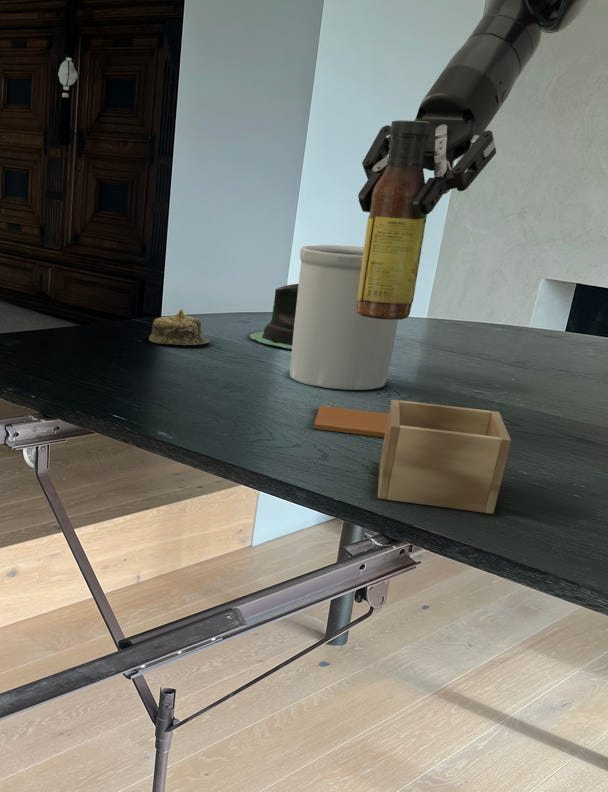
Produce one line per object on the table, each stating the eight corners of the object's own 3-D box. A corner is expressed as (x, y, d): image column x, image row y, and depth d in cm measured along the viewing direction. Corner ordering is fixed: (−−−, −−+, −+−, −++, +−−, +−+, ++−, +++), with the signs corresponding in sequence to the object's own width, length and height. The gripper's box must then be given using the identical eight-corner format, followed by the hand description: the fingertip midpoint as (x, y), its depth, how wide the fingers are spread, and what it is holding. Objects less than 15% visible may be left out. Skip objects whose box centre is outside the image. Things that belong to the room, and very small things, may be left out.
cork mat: (400, 419, 123) (400, 415, 123) (400, 439, 114) (401, 434, 114) (319, 410, 125) (319, 405, 125) (313, 429, 116) (314, 423, 116)
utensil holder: (275, 383, 137) (293, 248, 130) (292, 364, 150) (309, 241, 142) (383, 397, 134) (408, 259, 126) (390, 376, 147) (413, 250, 139)
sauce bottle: (420, 322, 112) (458, 123, 102) (374, 322, 109) (408, 119, 100) (387, 311, 117) (420, 122, 108) (341, 311, 115) (372, 118, 106)
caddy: (483, 479, 102) (499, 411, 99) (493, 514, 92) (511, 440, 89) (379, 465, 104) (391, 399, 101) (377, 498, 94) (391, 425, 91)
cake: (148, 349, 157) (147, 313, 154) (149, 339, 166) (148, 305, 163) (211, 348, 156) (211, 312, 154) (208, 338, 165) (209, 304, 163)
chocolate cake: (360, 331, 177) (387, 356, 160) (264, 375, 181) (279, 405, 164) (332, 250, 171) (356, 267, 153) (232, 298, 175) (245, 320, 157)
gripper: (404, 62, 111) (324, 177, 109) (524, 63, 102) (440, 187, 100) (420, 119, 116) (345, 228, 114) (535, 124, 107) (456, 243, 105)
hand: (389, 209), depth 107 cm, fingers closed on sauce bottle, 6 cm apart
